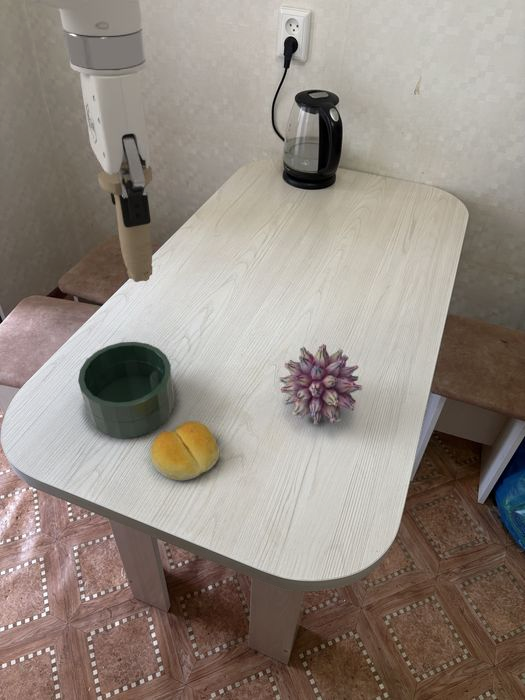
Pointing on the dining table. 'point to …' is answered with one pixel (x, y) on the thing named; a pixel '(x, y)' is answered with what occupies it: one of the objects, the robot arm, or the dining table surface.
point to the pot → (127, 389)
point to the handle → (131, 230)
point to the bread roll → (185, 451)
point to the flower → (320, 384)
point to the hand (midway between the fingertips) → (130, 211)
